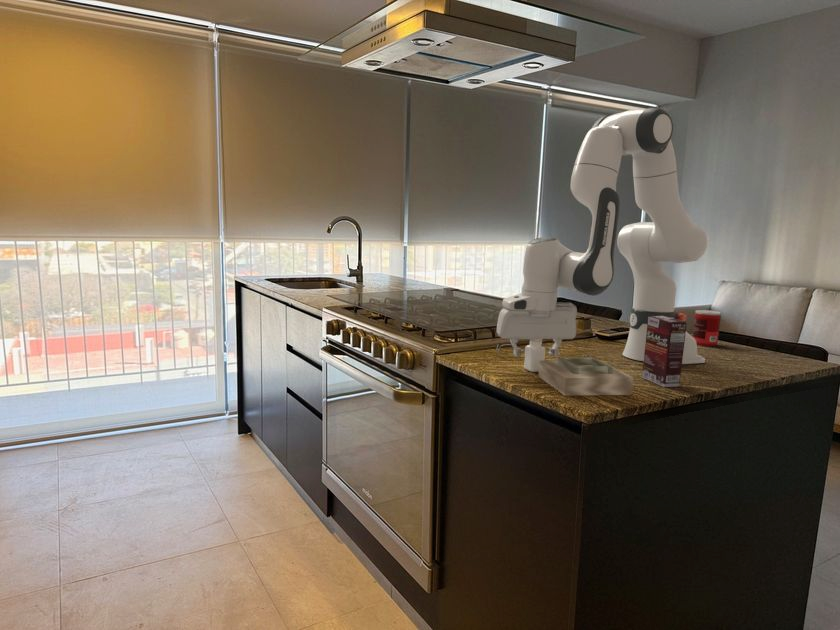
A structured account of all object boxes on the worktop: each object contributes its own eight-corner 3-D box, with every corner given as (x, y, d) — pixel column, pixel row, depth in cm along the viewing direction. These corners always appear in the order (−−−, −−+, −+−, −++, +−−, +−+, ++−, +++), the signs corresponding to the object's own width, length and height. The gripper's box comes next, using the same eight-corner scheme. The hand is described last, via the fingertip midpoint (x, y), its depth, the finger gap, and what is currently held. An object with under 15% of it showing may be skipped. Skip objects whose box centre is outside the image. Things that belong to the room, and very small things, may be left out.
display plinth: (599, 376, 146) (601, 354, 145) (631, 394, 130) (634, 371, 129) (538, 376, 143) (539, 354, 142) (564, 395, 128) (566, 371, 127)
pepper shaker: (523, 368, 150) (525, 332, 149) (536, 368, 152) (539, 332, 150) (531, 372, 147) (533, 335, 145) (544, 371, 148) (547, 335, 147)
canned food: (718, 343, 195) (722, 311, 193) (715, 347, 188) (719, 314, 187) (693, 340, 199) (697, 309, 197) (690, 344, 193) (693, 311, 191)
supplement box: (640, 378, 145) (646, 315, 143) (657, 377, 147) (663, 315, 144) (663, 387, 137) (670, 321, 135) (680, 387, 139) (688, 321, 136)
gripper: (572, 301, 151) (568, 352, 153) (496, 299, 148) (493, 352, 150) (582, 304, 145) (578, 358, 147) (503, 302, 142) (500, 358, 144)
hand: (534, 355), depth 148 cm, fingers open, 8 cm apart
